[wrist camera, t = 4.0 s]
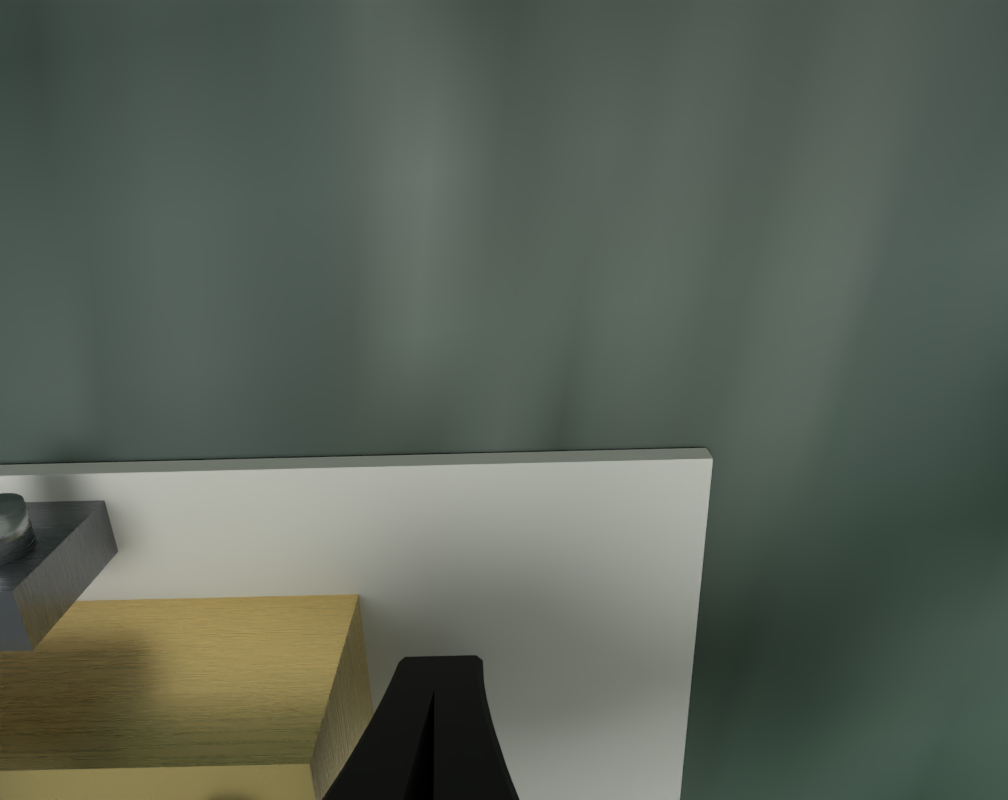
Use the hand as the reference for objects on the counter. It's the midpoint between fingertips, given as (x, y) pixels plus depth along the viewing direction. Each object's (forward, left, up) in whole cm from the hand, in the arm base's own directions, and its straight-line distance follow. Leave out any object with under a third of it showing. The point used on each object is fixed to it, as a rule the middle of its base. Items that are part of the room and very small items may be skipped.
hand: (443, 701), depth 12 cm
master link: (0, +5, -1) cm, 6 cm away
